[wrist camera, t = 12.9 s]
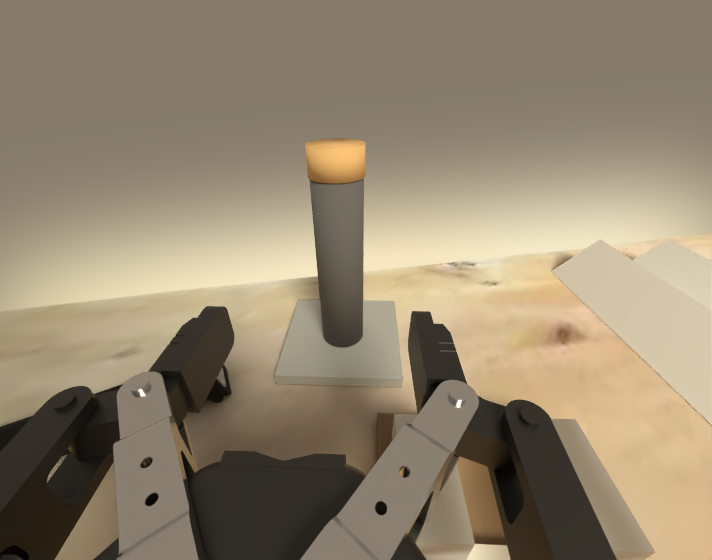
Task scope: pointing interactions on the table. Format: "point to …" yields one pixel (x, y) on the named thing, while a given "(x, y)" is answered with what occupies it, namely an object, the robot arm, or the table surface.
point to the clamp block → (480, 512)
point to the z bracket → (653, 310)
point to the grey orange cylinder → (338, 234)
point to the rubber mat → (341, 350)
